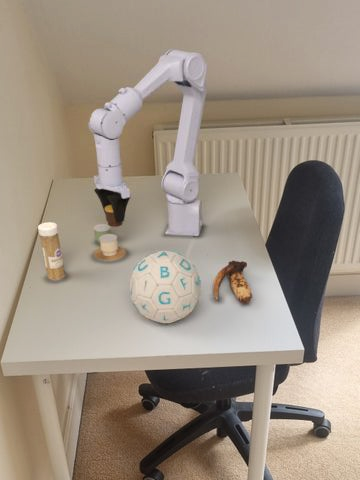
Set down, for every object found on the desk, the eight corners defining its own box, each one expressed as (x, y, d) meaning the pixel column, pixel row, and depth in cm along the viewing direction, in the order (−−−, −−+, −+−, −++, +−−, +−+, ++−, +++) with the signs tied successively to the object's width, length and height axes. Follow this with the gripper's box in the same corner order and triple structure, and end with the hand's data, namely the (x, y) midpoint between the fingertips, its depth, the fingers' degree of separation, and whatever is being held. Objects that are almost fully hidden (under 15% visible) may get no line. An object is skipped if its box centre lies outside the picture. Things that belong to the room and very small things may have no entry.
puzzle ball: (199, 300, 135) (198, 237, 125) (202, 335, 123) (202, 269, 114) (133, 302, 135) (127, 240, 125) (130, 338, 123) (124, 272, 114)
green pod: (114, 238, 163) (112, 223, 161) (109, 245, 160) (108, 230, 157) (98, 238, 164) (96, 223, 161) (93, 245, 160) (91, 230, 158)
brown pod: (126, 220, 153) (125, 204, 150) (122, 227, 149) (120, 211, 147) (109, 220, 154) (107, 203, 151) (104, 227, 150) (102, 210, 147)
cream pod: (120, 249, 156) (119, 234, 154) (116, 257, 153) (114, 241, 150) (103, 248, 157) (102, 233, 154) (99, 256, 153) (97, 240, 151)
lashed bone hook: (207, 276, 145) (218, 311, 130) (206, 258, 142) (217, 292, 128) (244, 272, 145) (259, 307, 131) (244, 254, 142) (259, 288, 128)
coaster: (129, 249, 158) (129, 247, 157) (121, 262, 151) (121, 260, 151) (99, 247, 159) (99, 245, 159) (90, 261, 153) (90, 259, 152)
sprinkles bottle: (60, 282, 144) (51, 229, 135) (44, 280, 145) (33, 228, 136) (68, 274, 147) (60, 222, 139) (52, 272, 148) (43, 220, 140)
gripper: (80, 160, 145) (87, 214, 154) (109, 174, 136) (115, 231, 144) (105, 154, 148) (111, 207, 157) (135, 168, 139) (139, 224, 147)
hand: (114, 218), depth 151 cm, fingers closed on brown pod, 4 cm apart
